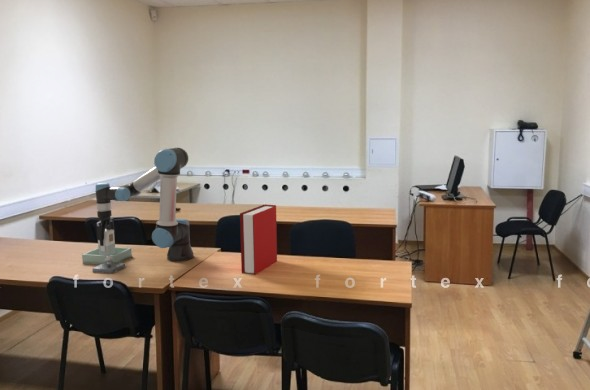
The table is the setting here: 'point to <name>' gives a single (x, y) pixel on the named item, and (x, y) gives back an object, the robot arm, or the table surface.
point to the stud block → (108, 266)
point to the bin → (117, 257)
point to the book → (258, 238)
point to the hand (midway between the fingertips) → (107, 249)
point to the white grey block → (108, 243)
